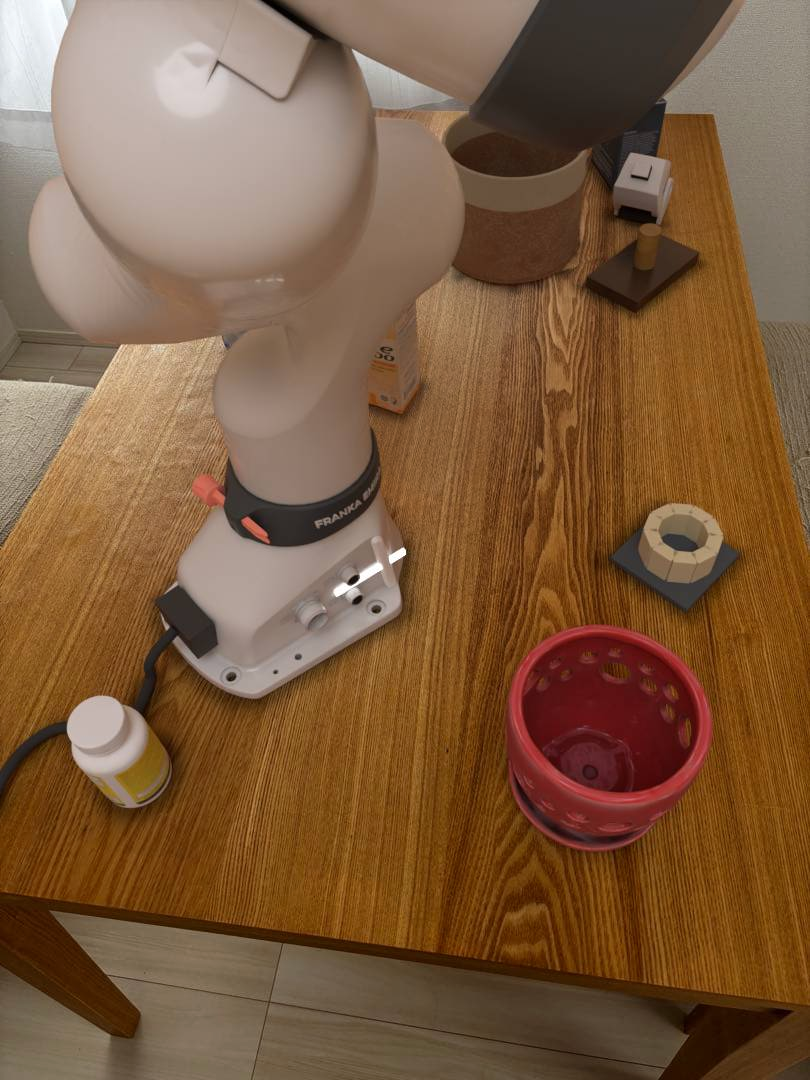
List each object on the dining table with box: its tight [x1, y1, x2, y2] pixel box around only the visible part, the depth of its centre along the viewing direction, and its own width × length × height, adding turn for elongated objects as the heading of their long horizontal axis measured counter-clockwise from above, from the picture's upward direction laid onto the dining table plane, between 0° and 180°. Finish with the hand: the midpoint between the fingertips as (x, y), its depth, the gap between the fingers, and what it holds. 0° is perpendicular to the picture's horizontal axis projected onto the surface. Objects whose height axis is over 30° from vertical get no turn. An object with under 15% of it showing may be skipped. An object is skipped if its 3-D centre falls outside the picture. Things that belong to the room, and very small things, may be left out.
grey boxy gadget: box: [611, 153, 675, 226], centre depth 104 cm, size 6×7×10 cm
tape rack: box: [585, 223, 701, 314], centre depth 98 cm, size 12×7×6 cm, turn 135°
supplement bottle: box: [66, 695, 173, 809], centre depth 64 cm, size 5×5×10 cm
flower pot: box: [504, 624, 714, 853], centre depth 61 cm, size 13×13×12 cm
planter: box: [441, 111, 589, 285], centre depth 100 cm, size 16×16×14 cm
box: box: [590, 97, 668, 190], centre depth 109 cm, size 8×6×11 cm
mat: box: [609, 523, 741, 614], centre depth 76 cm, size 8×8×1 cm
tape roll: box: [638, 502, 724, 584], centre depth 75 cm, size 6×7×3 cm
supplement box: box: [368, 299, 420, 415], centre depth 86 cm, size 8×5×13 cm, turn 64°
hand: (504, 43), depth 70 cm, fingers open, 8 cm apart
